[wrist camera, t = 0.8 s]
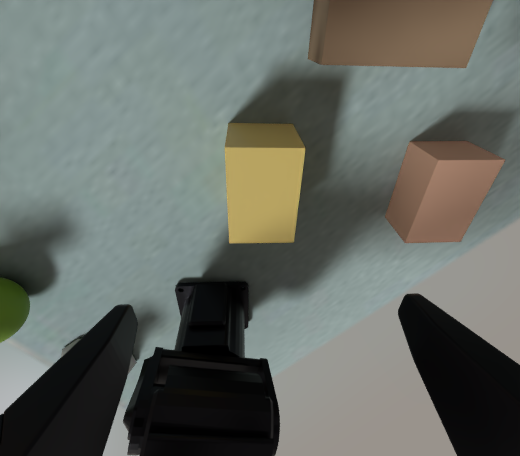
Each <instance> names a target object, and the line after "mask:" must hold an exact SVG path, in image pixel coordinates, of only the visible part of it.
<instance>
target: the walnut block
mask: <svg viewBox="0 0 520 456" xmlns="http://www.w3.org/2000/svg"><path fill="white" fill-rule="evenodd" d="M492 1H493V0H314V5H313V15H312V24H311V33H310V43H309V52H308V59H309V60H311V61H314V62H316V63H319V64H321V65H356V66H399V67H442V68H466V67H467V64H468V62H469V59H470V57H471V54H472V52H473V49H474V47H475V44H476V42H477V39H478V37H479V34H480V32H481V29H482V27H483V24H484V22H485V19H486V17H487V14H488V11H489V9H490V6H491V4H492Z"/></svg>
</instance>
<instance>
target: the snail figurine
mask: <svg viewBox="0 0 520 456" xmlns="http://www.w3.org/2000/svg"><path fill="white" fill-rule="evenodd" d="M29 310H30V301H29V297H28V295H27V293H26V292H25V290H24V289H23V288H22V287H21V286H20V285H18V284H17V283H15V282H13V281H11V280H9V279H5V278H1V277H0V343H1V342H3V341H4V340H6V339H8V338H9V337H11V336H12V335H14V334H15V333H16V332H17V331H18V330H19V329H20V328H21V327H22V325H23V324H24V323H25V321H26V319H27V317H28V314H29Z"/></svg>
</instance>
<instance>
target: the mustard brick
mask: <svg viewBox="0 0 520 456" xmlns="http://www.w3.org/2000/svg"><path fill="white" fill-rule="evenodd" d="M304 157H305V146H304V144H303V142H302V141H301V139H300V137H299V135H298V133H297V131H296V129H295V127H294V126H293V124H265V123H228V130H227V136H226V143H225V163H226V184H227V204H228V225H229V243H294V237H295V229H296V221H297V213H298V205H299V197H300V189H301V181H302V173H303V165H304Z"/></svg>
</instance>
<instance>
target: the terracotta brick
mask: <svg viewBox="0 0 520 456" xmlns="http://www.w3.org/2000/svg"><path fill="white" fill-rule="evenodd" d="M504 162H505V159H503V158H501V157H499V156H497V155H495V154H493V153H491V152H489V151H487V150H485V149H483V148H481V147H479V146H476V145H474V144H472V143H470V142H468V141H410V142H409V145H408V148H407V151H406V154H405V157H404V160H403V163H402V166H401V169H400V172H399V175H398V178H397V181H396V184H395V187H394V191H393V194H392V197H391V200H390V203H389V206H388V209H387V212H386V215H385V218H386V219H387V220H388V222H389V223H390V224H391V225H392V227H393V228H394V229H395V231H396V232H397V233H398V235H399V236H400V237H401V238H402V240H403V241H404V242H405V243H428V242H461V240H462V238H463V236H464V234H465V233H466V231H467V229H468V227H469V225H470V224H471V222H472V220H473V218H474V216H475V214H476V213H477V211H478V209H479V207H480V205H481V204H482V202H483V200H484V198H485V196H486V194H487V193H488V191H489V189H490V187H491V185H492V184H493V182H494V180H495V178H496V176H497V174H498V173H499V171H500V169H501V167H502V165H503V164H504Z"/></svg>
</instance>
